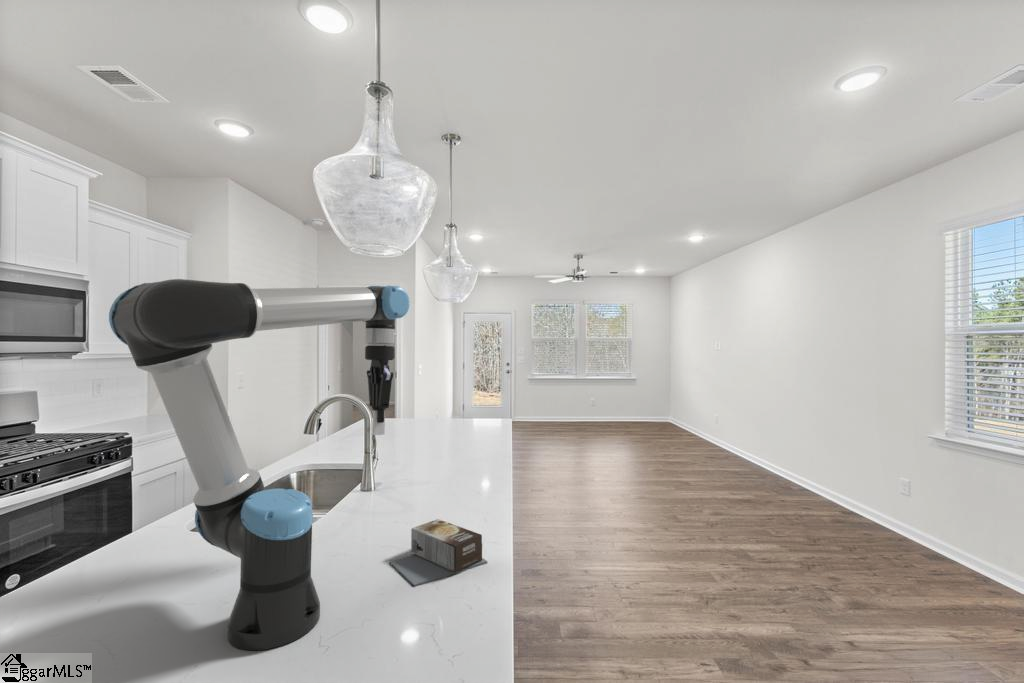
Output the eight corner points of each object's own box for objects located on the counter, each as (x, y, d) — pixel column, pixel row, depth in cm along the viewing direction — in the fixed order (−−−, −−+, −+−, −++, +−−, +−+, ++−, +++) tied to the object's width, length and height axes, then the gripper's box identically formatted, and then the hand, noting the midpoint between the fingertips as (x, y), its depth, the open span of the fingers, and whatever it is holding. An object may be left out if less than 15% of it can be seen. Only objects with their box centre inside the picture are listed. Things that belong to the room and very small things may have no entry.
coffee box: (438, 517, 121) (483, 533, 111) (437, 541, 121) (483, 560, 111) (410, 527, 114) (456, 546, 104) (410, 553, 114) (455, 574, 103)
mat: (414, 586, 99) (414, 584, 99) (389, 563, 109) (389, 561, 109) (487, 562, 110) (487, 561, 110) (458, 543, 121) (458, 542, 121)
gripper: (403, 345, 119) (401, 436, 118) (384, 345, 129) (382, 429, 129) (375, 344, 114) (373, 440, 114) (357, 344, 124) (356, 432, 124)
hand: (378, 434), depth 121 cm, fingers closed
